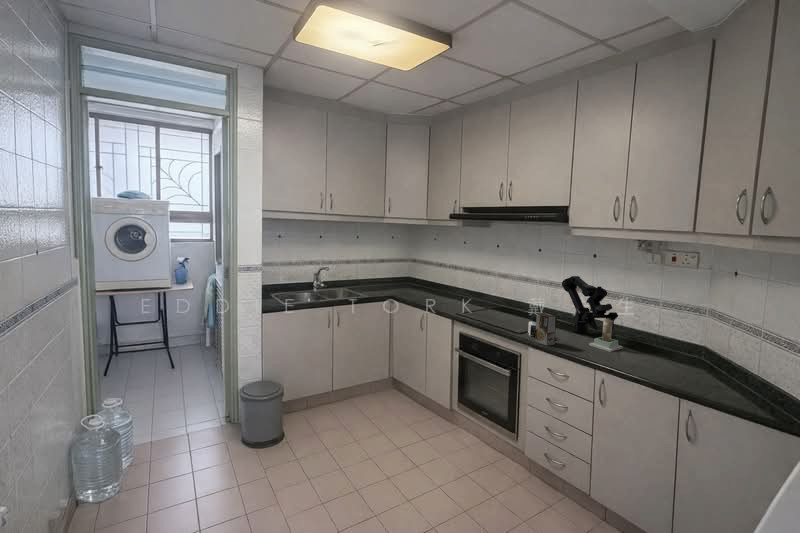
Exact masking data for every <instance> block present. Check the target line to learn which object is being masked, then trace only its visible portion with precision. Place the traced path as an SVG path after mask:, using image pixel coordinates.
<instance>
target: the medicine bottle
mask: <svg viewBox="0 0 800 533" xmlns="http://www.w3.org/2000/svg"><path fill="white" fill-rule="evenodd" d="M536 318H537V314H532V315H531V316H530V321H528V329H527V330H528V331H527V334H528V333H529V334H528V336H529V337H531V336H535V335H536Z"/></svg>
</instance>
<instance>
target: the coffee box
mask: <svg viewBox="0 0 800 533" xmlns="http://www.w3.org/2000/svg"><path fill="white" fill-rule="evenodd" d="M536 315H537V318H536V335H535V337H534V338H535V339H534V342H536V343H538V344H542V345H544V346H552V345H553V346H554V345H555V344H556V331H557V318H558V316H557V315H554V314H550V313H547V312H540V313H536Z"/></svg>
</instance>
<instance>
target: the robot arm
mask: <svg viewBox="0 0 800 533" xmlns="http://www.w3.org/2000/svg"><path fill="white" fill-rule="evenodd" d="M561 286H562V288H563V290H564V291H565V292H567V293H568V295H569V297H570V299H571V302H572V303H573V306H574V309H575V313H574V316H573V318H572V322H573V323H574V330H573V331H572V332H573V333H576V334H579V335H585V334H589V332H588V328H589V326H591V327H592V328H593V329H594V330H595V331H598V329H599V328H598V326H597V323H596V321H595V319H610V320H613V323H612V331H614V330H615V326H614V325H615V320H616V319H617V318H618V317H619V315H618V313H617V312H615V311H612V312H608V311H610V310H612V309H613V306H612V303H606V304H601V302H602V301H603V300H604V299H605V298H606V297H607V296H608V291H607V290H606V289H605V288H603V287H602V286H594V285H592V284H591V285H590V284H588V283H587V282H586V281H584V280H583V279H582V278H581V276H579V275H572V276H570V277H568V278H565V279H563V281H562V282H561ZM577 288H579V289H580V290H581V293H582V295H583V296H584V297H587V299H586V304H588V305H589V307H586V306H584V304H583V302H582V299H581V298H580V295H579V293H578V291H577ZM607 312H608V314H607ZM588 325H589V326H588Z"/></svg>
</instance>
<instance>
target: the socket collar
mask: <svg viewBox="0 0 800 533" xmlns="http://www.w3.org/2000/svg"><path fill="white" fill-rule="evenodd" d="M588 346H589V347H593V348H596V349H600V350H603V351H606V352H609V353H610V352H615V351H617V350H621V349H623V348H624V347H623V346H622V345H619V340H618V339H614V338H611V342H606V341H603V340H602V336H599V337H596V338H594V341H593V342H590V343H589V344H588Z"/></svg>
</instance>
